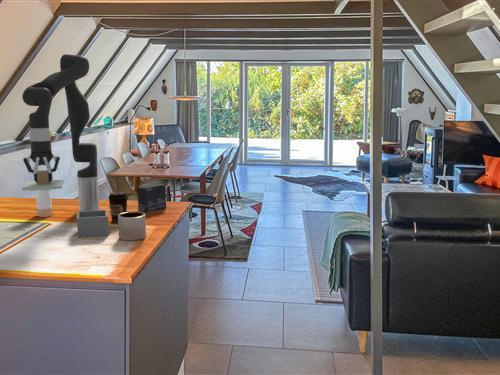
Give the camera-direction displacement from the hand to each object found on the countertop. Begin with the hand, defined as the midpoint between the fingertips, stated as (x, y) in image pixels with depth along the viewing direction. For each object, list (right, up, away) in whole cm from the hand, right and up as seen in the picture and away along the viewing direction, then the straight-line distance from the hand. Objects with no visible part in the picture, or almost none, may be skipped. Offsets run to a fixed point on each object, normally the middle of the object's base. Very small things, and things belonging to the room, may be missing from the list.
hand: (43, 182), depth 202 cm
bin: (+17, -21, +9) cm, 28 cm away
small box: (+34, -13, +51) cm, 63 cm away
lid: (0, -1, 0) cm, 2 cm away
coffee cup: (+23, -17, +27) cm, 40 cm away
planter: (+35, -22, +3) cm, 42 cm away
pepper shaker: (-14, -15, +37) cm, 43 cm away
